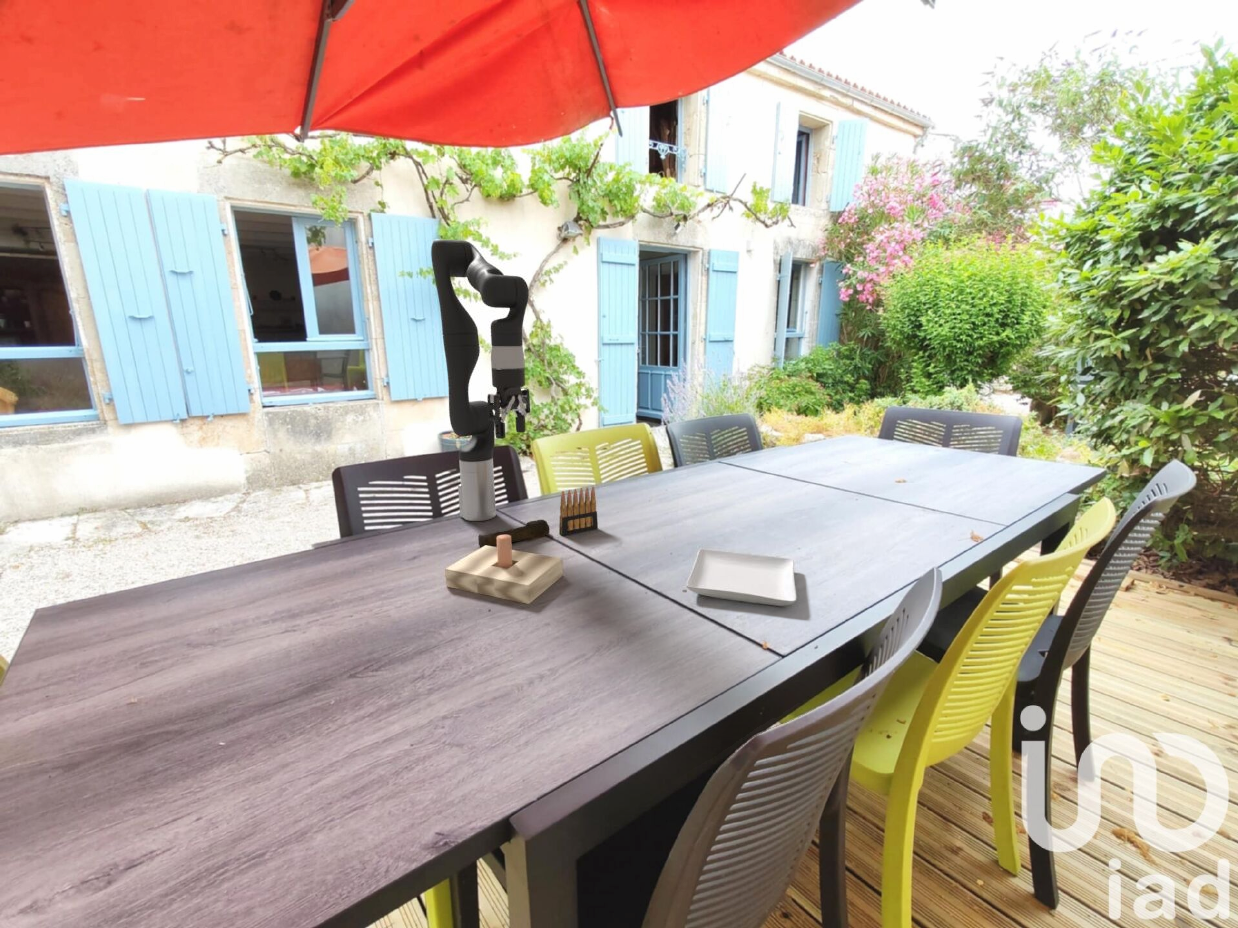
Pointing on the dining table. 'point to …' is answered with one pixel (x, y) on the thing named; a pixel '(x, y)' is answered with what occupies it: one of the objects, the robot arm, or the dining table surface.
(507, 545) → the peg
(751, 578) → the salad plate
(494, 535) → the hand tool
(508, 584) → the hole block
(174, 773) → the dining table surface
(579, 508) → the ammunition clip
